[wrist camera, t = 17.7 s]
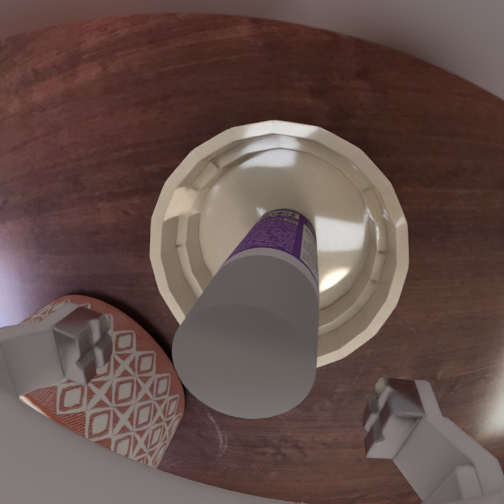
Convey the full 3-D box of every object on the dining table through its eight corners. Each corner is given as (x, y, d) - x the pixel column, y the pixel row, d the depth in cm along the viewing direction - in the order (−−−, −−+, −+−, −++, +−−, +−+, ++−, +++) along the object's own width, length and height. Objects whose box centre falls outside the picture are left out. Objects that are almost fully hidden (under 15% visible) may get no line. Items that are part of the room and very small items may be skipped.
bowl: (196, 119, 23) (161, 110, 17) (404, 153, 21) (434, 153, 15) (179, 306, 27) (149, 341, 22) (357, 341, 25) (365, 387, 20)
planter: (155, 447, 35) (109, 531, 21) (41, 363, 35) (-26, 424, 21) (222, 365, 29) (163, 495, 15) (64, 252, 28) (-50, 312, 14)
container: (240, 249, 24) (148, 374, 10) (272, 195, 22) (206, 265, 8) (294, 281, 24) (267, 439, 10) (329, 230, 22) (353, 352, 8)
